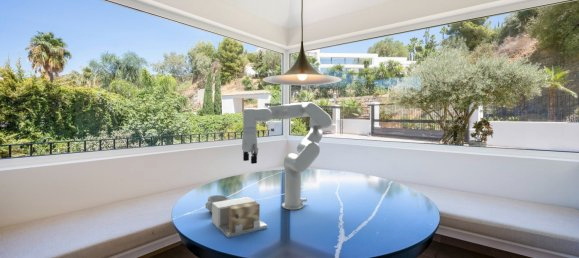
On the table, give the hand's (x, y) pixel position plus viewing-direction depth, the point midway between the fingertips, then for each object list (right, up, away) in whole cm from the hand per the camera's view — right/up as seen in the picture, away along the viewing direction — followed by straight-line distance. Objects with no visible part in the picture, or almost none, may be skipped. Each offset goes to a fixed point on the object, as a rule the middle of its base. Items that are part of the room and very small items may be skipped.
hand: (249, 161), depth 156 cm
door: (0, -28, -21) cm, 35 cm away
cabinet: (-6, -29, -11) cm, 32 cm away
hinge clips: (-1, -30, -19) cm, 35 cm away
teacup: (-19, -28, +1) cm, 34 cm away
